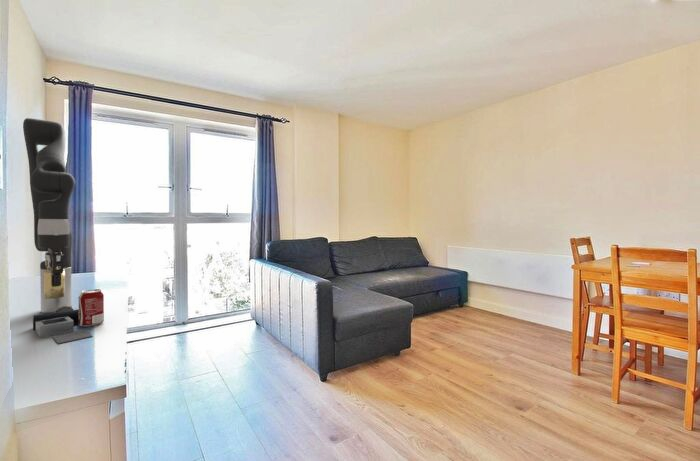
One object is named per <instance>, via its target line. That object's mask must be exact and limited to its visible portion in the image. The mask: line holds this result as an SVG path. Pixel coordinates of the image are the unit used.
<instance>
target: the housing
mask: <svg viewBox="0 0 700 461" xmlns="http://www.w3.org/2000/svg"><path fill="white" fill-rule="evenodd" d="M35 324H36V330H35V333H36V335H37V336H38V338H40V339H43V338H47V337H53V336H58V335H64V334H69V333H73V332H75V331H74V329H75V328H74V327H75V326H74V325H75V324H74V321H73V320H72V319H71V318H70V317H69V316H66V317H60V318H54V319H48V320H42V321H36V322H35ZM72 331H73V332H72Z"/></svg>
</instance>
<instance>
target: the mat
mask: <svg viewBox="0 0 700 461" xmlns="http://www.w3.org/2000/svg"><path fill="white" fill-rule="evenodd" d="M89 338H93V335H92V334H91V332H88V331H87V329H84V330H79V331H73V332H68V333H63V334H58V335H53V336H52V339H53V341H55V342H56V344H57V345H61V344H66V343H71V342H75V341H79V340H80V341H81V340H85V339H89Z"/></svg>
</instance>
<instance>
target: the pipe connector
mask: <svg viewBox="0 0 700 461" xmlns="http://www.w3.org/2000/svg"><path fill="white" fill-rule="evenodd" d="M66 316H69V317H70V318H71V319H72V320H73V321H74V325H76V324H77V325H79V308H78V309H74V308H73V307H72V306H70V307H68V306H64V307H60V308H57V310H56V312H51V313H41V314H33V316H32V318H33V319H32V329H33V331H36V324H35V322H36V321H42V320H48V319H54V318H60V317H66Z"/></svg>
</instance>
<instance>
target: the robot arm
mask: <svg viewBox="0 0 700 461" xmlns="http://www.w3.org/2000/svg"><path fill="white" fill-rule="evenodd" d="M22 127H23V128H22V129H23V136H24V141H25V147H26V154H27V159H28V160H27V161H28V168H29V169H28V170H29V186H30V195H31V196H30V197H31V200H32V210H33V237H34V246H35V248H36V250H37V251H38V252H45V253H44V258H45V260H43V261H41V262H40V265H39V267H40V268H39V274H40V275H39V276H40V313H41V314H48V313H55V312H56V310H57V308H60V307H64V306H68V307H70V306H72V248H73V234H72V231H71V230H70V224H69V204H70V200H71V197H72V194H73V192H74V190H75V186H76V179H75V176H73V175H72V174H71V173H69V172H66V164H65V158H64V157H65V151H66V131H65V127H64V126H63V124H62V123H61V122H57V121H54V120H47V119H37V118H30V117H27V118H24V120H23V123H22ZM38 146H44V147H42V148H41V149H40V150H39V147H38ZM56 268H59V269H58V270H55V269H56ZM63 268H64V269H65V296H64V297H60V298H53V299H45V298H44V270H46V269H51V286H53V287H56V286H61V274H62V273H63Z"/></svg>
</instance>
